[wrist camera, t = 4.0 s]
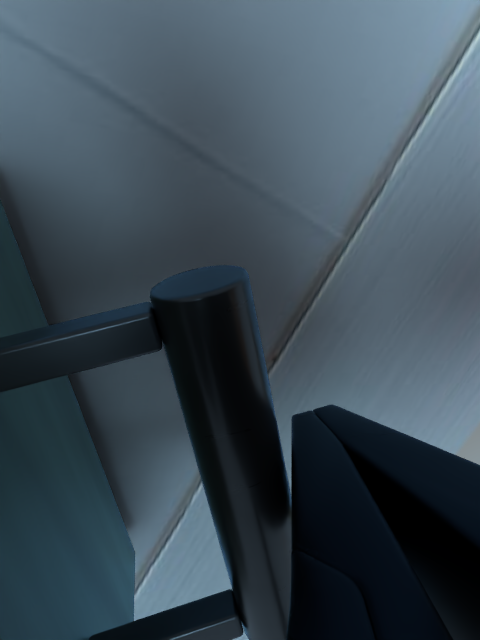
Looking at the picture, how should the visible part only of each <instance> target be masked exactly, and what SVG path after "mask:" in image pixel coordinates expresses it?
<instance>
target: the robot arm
mask: <svg viewBox="0 0 480 640" xmlns="http://www.w3.org/2000/svg"><path fill="white" fill-rule="evenodd" d="M291 549H292V552H291V588H290V608H289V617H288V626H287V634H286V640H480V465H478V464H476V463H473V462H471V461H469V460H466V459H464V458H461V457H459V456H456V455H454V454H452V453H449V452H447V451H444V450H442V449H440V448H437V447H435V446H432V445H430V444H427V443H425V442H423V441H420V440H418V439H415V438H413V437H410V436H408V435H406V434H403V433H401V432H398V431H396V430H394V429H391V428H389V427H386V426H384V425H381V424H379V423H377V422H374V421H372V420H369V419H367V418H365V417H362V416H360V415H357V414H355V413H352V412H350V411H348V410H345V409H343V408H340V407H338V406H335V405H327V406H324V407H320V408H317V409H314V410H313V411H306V412H303V413H299V414H296V415H293V416H292V488H291Z"/></svg>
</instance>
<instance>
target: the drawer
mask: <svg viewBox="0 0 480 640" xmlns="http://www.w3.org/2000/svg"><path fill="white" fill-rule="evenodd" d="M150 300H151V302H143V303H139V304H135V305H131V306H127V307H123V308H119V309H115V310H111V311H107V312H103V313H98V314H94V315H90V316H86V317H82V318H78V319H74V320H70V321H66V322H62V323H58V324H54V325H50V326H48V323H47V321H46V318H45V315H44V313H43V310H42V307H41V305H40V302H39V300H38V297H37V294H36V292H35V289H34V287H33V284H32V281H31V279H30V276H29V273H28V271H27V268H26V266H25V263H24V260H23V258H22V255H21V253H20V250H19V247H18V245H17V242H16V239H15V237H14V234H13V232H12V229H11V226H10V224H9V221H8V219H7V216H6V213H5V211H4V208H3V205H2V203H1V200H0V640H232V639H235V638H237V637H240V636H242V635H243V628H244V631H245V633H246V635H247V637H248V639H249V640H286V634H287V626H288V617H289V608H290V588H291V552H292V549H291V493H290V488H289V483H288V477H287V472H286V467H285V462H284V457H283V451H282V446H281V441H280V436H279V430H278V425H277V420H276V415H275V410H274V404H273V399H272V394H271V389H270V384H269V378H268V373H267V368H266V363H265V358H264V352H263V347H262V342H261V337H260V331H259V326H258V321H257V316H256V311H255V305H254V300H253V295H252V290H251V285H250V279H249V274H248V273H247V271H246V270H245V269H244V268H242V267H239V266H232V265H217V266H208V267H202V268H197V269H193V270H189V271H185V272H182V273H179V274H176V275H173V276H171V277H169V278H167V279H165V280H163V281H161V282H160V283H158V284H157V285H155V286H154V287H153V288H152V289H151V291H150ZM162 342H163V346H164V349H165V353H166V356H167V360H168V363H169V367H170V370H171V374H172V377H173V381H174V384H175V388H176V392H177V395H178V399H179V402H180V406H181V409H182V413H183V416H184V420H185V423H186V427H187V430H188V434H189V437H190V441H191V444H192V448H193V452H194V455H195V459H196V462H197V466H198V469H199V473H200V476H201V480H202V483H203V487H204V490H205V494H206V497H207V501H208V505H209V508H210V512H211V515H212V519H213V522H214V526H215V529H216V533H217V536H218V540H219V543H220V547H221V550H222V554H223V558H224V561H225V565H226V568H227V572H228V575H229V579H230V582H231V586H232V589H233V590H232V589H229V590H226V591H223V592H220V593H217V594H214V595H211V596H208V597H205V598H202V599H199V600H196V601H193V602H190V603H187V604H184V605H181V606H178V607H175V608H172V609H169V610H166V611H163V612H160V613H157V614H154V615H151V616H148V617H145V618H142V619H139V620H136V621H134V584H135V551H134V548H133V545H132V543H131V540H130V538H129V535H128V532H127V530H126V527H125V525H124V522H123V519H122V517H121V514H120V511H119V509H118V506H117V504H116V501H115V498H114V496H113V493H112V491H111V488H110V485H109V483H108V480H107V477H106V475H105V472H104V470H103V467H102V464H101V462H100V459H99V457H98V454H97V451H96V449H95V446H94V443H93V441H92V438H91V436H90V433H89V430H88V428H87V425H86V423H85V420H84V417H83V415H82V412H81V409H80V407H79V404H78V402H77V399H76V396H75V394H74V391H73V389H72V386H71V383H70V381H69V378H68V375H70V374H73V373H77V372H81V371H85V370H89V369H93V368H96V367H100V366H104V365H108V364H112V363H116V362H119V361H123V360H127V359H131V358H135V357H139V356H142V355H146V354H150V353H154V352H158V351H160V350H161V349H162ZM241 621H242V622H241ZM242 625H243V626H242Z"/></svg>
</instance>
